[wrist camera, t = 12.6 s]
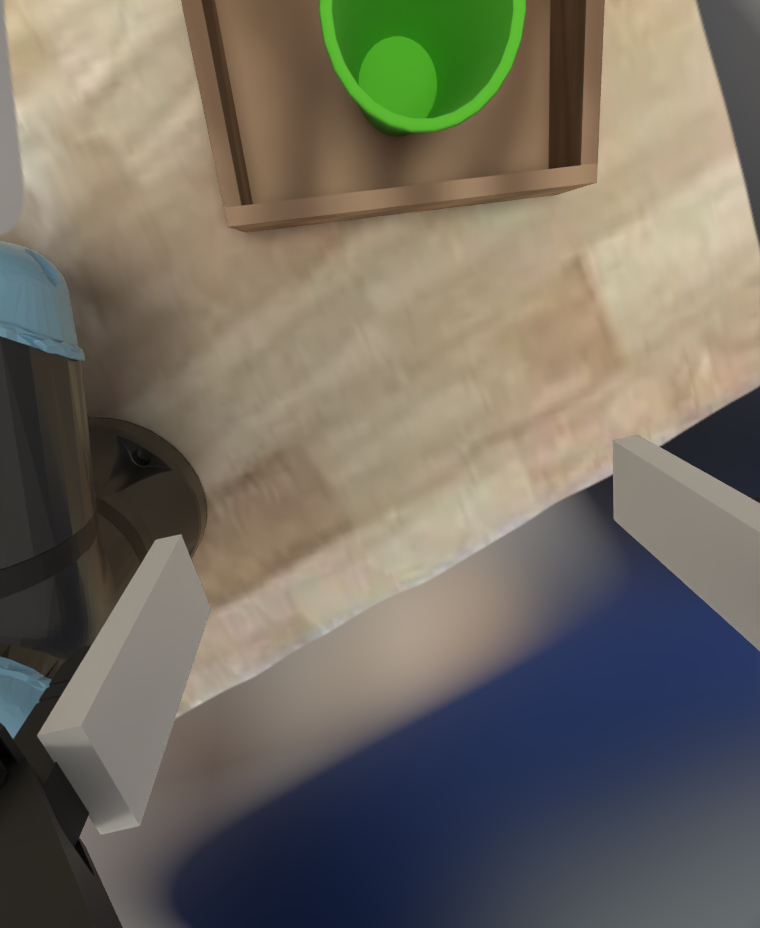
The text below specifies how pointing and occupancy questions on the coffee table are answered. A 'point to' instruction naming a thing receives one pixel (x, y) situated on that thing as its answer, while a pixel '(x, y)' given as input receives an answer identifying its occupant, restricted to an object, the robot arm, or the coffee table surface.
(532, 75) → the tray
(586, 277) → the coffee table surface
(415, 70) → the cup
